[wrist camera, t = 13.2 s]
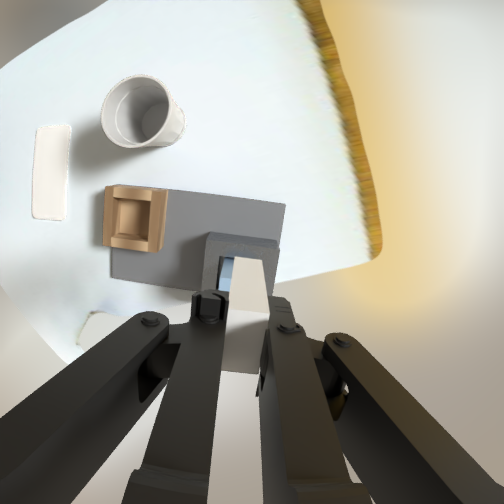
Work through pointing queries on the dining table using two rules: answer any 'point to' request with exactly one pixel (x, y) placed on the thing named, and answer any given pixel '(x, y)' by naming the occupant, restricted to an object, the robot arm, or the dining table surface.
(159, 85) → the cup
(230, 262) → the plug
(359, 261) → the dining table surface
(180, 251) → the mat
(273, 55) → the dining table surface
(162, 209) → the tan square frame
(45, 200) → the smartphone
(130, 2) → the dining table surface
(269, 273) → the port
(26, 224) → the dining table surface
